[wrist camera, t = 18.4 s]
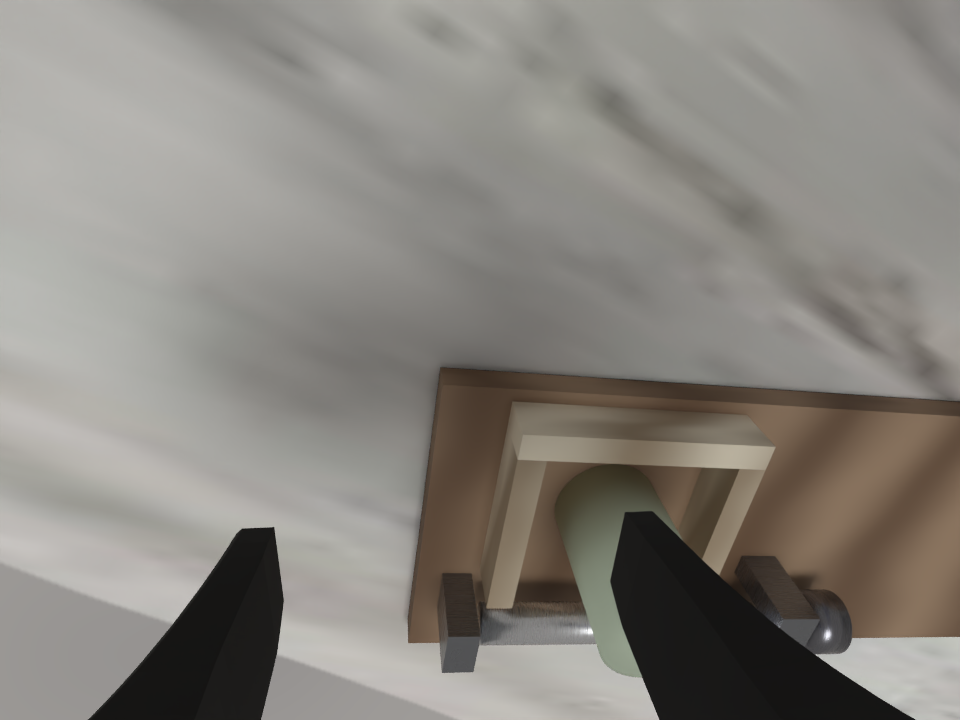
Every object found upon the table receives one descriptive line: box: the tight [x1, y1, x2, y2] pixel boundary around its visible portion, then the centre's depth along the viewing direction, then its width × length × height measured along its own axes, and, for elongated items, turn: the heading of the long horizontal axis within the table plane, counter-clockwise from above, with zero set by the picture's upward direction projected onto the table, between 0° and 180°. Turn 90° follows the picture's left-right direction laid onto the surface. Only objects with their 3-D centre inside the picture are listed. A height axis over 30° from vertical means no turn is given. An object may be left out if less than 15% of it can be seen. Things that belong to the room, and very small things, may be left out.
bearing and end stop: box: [437, 556, 820, 673], centre depth 25 cm, size 14×4×3 cm, turn 82°
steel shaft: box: [477, 589, 852, 654], centre depth 26 cm, size 16×3×3 cm, turn 82°
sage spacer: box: [555, 464, 683, 677], centre depth 22 cm, size 4×4×6 cm
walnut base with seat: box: [408, 368, 960, 643], centre depth 26 cm, size 29×13×3 cm, turn 82°
